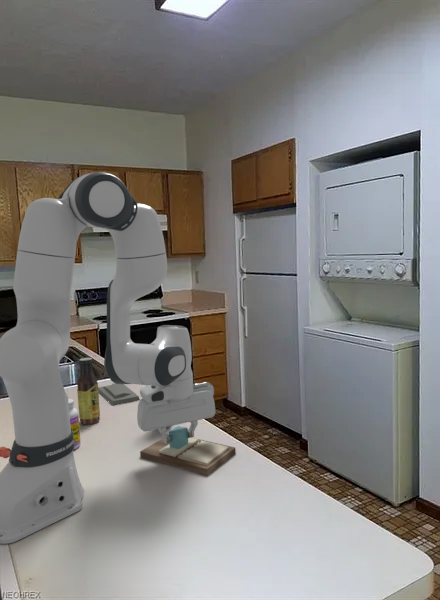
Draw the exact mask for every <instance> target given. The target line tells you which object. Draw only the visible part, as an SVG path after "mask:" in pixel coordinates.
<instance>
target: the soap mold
mask: <svg viewBox="0 0 440 600" xmlns="http://www.w3.org/2000/svg"><path fill="white" fill-rule="evenodd" d="M98 392H99V394H100V396H102V398H104V399H105V400H106V401H107V402H108V401H109V402H110V403H111V404H112V405H113V406H118V405H117V404H119V405H122V404H121V403H124V404H127V403H126V402H128V403H133V402H138V401H140V400H141V399H140V396H139V395H138V394H137V393H136V392H134V391H133V390H132V389H130V388H129V387H128V386H126V384H116V383H114V382H113V383H112V384H111V385H105V386H100V387H99V386H98ZM137 400H138V401H137ZM132 401H133V402H132ZM109 402H108V403H109ZM110 403H109V404H110ZM111 404H110V405H111ZM112 405H111V406H112Z"/></svg>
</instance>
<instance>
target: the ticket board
mask: <svg viewBox="0 0 440 600" xmlns="http://www.w3.org/2000/svg"><path fill="white" fill-rule="evenodd" d="M193 438H194V439H198V442H197V443H195V444H194V445H192V446H191V447H189V448H188V449H186V450H185V451H183V452H182V453H180V454H179V455H177V456H176V457H173V456H170V455H166V454H162V453H159V450H161V449H162V448H164V447H166V446H167V445H169V443H166V444H165V443H164V442H163V437H162V438H160V439H159V440H157V441H156V442H154V443H153V444H151V445H148V447H145V448H143V449H141V450H140V451H139V455H140V456H139V457H140V458H142V459H146V460H150V461H153V462H156V463H157V462H158V463H159V464H160V463H161V464H163V465H164V464H165V465H168V466H172V467H175V468H178V469H181V470H185V471H190V472H193V473H197V474H201V475H204V476H209V475H210V474H211V473H212V472H214V471H215V470H216V469H217V468H219V467H220V466H222V465H223V464H224V463H225V462H226V461H228V460H229V459H230V458H231V457H232V456H234V455H236V452H237V451H236V447H234V446H230V445H227V444H226V445H225V444H221V443H219V442H218V443H217V442H213V441H208V440H203V439H199V438H195V437H193Z"/></svg>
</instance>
